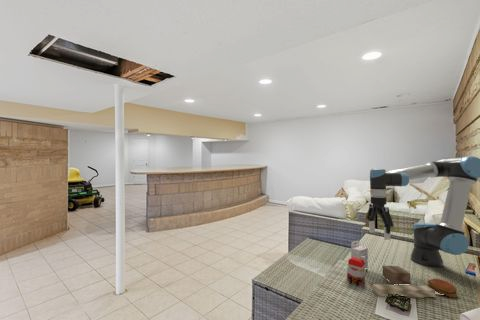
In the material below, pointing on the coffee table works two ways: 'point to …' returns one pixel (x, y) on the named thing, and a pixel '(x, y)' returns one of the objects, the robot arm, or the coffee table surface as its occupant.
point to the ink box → (359, 252)
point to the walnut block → (396, 275)
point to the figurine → (356, 270)
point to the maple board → (404, 290)
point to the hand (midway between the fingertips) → (379, 235)
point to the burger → (443, 287)
